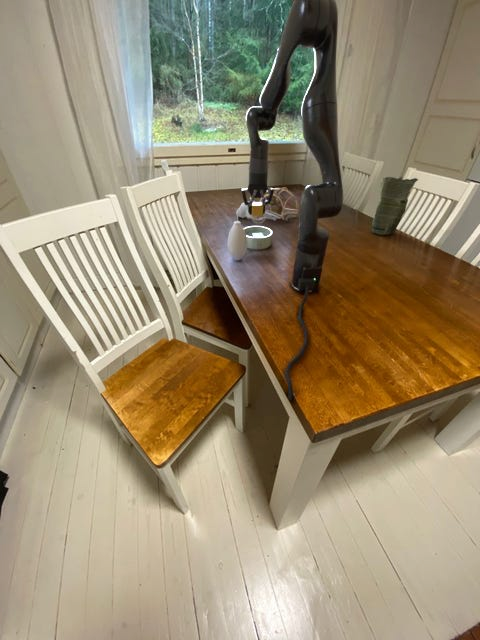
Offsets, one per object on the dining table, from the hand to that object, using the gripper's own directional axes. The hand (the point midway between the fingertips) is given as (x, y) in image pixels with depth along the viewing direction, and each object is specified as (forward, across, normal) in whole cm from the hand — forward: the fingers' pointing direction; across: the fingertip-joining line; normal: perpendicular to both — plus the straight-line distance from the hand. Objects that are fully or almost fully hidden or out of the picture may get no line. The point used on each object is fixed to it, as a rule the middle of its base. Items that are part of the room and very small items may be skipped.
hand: (256, 214), depth 119 cm
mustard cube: (0, 0, 0) cm, 0 cm away
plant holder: (+13, +13, +31) cm, 36 cm away
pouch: (+13, +65, +2) cm, 66 cm away
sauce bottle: (+13, -11, -17) cm, 24 cm away
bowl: (+12, 0, -3) cm, 13 cm away
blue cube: (+12, 0, -6) cm, 13 cm away
